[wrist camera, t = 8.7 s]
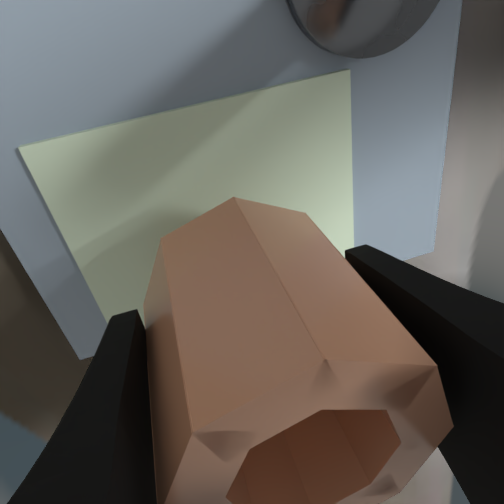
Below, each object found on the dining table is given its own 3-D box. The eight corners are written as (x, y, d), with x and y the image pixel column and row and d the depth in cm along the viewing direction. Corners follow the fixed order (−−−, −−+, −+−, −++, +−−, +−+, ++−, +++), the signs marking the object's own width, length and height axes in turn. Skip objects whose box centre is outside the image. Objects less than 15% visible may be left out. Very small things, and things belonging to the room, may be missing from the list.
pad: (19, 145, 10) (17, 147, 10) (347, 68, 11) (350, 69, 11) (134, 373, 15) (134, 377, 15) (352, 304, 16) (355, 306, 16)
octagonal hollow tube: (350, 222, 11) (500, 368, 7) (286, 353, 13) (368, 531, 9) (174, 183, 9) (223, 352, 5) (132, 344, 11) (139, 565, 7)
